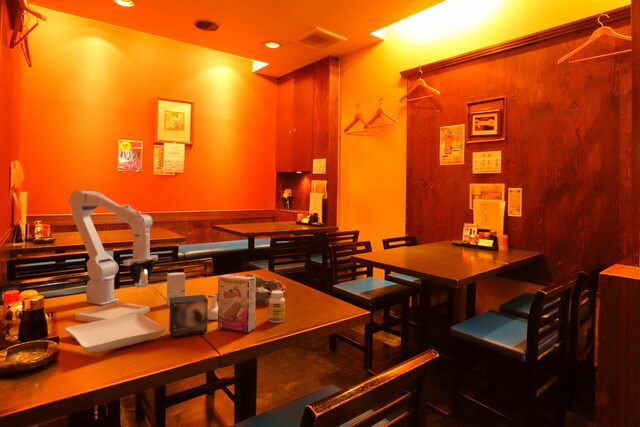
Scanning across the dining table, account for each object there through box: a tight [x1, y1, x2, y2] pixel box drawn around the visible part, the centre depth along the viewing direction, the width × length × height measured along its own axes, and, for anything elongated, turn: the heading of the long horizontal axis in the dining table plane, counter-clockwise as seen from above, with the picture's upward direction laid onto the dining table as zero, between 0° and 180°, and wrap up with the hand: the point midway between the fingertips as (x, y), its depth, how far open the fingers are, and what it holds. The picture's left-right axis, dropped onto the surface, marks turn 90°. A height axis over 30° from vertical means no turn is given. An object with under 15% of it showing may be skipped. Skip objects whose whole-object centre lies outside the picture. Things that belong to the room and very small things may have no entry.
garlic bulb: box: [207, 294, 218, 321], centre depth 127 cm, size 6×6×8 cm
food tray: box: [207, 272, 288, 305], centre depth 152 cm, size 35×26×11 cm
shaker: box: [134, 267, 149, 288], centre depth 142 cm, size 4×4×6 cm
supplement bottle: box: [268, 291, 286, 324], centre depth 126 cm, size 5×5×10 cm
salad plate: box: [64, 314, 167, 353], centre depth 108 cm, size 21×21×3 cm
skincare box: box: [166, 271, 186, 308], centre depth 142 cm, size 6×4×12 cm
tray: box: [74, 301, 151, 323], centre depth 128 cm, size 16×16×2 cm
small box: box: [168, 294, 209, 338], centre depth 114 cm, size 11×6×10 cm, turn 117°
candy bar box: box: [217, 274, 257, 334], centre depth 117 cm, size 11×5×16 cm, turn 71°
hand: (141, 281), depth 142 cm, fingers closed on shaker, 4 cm apart
